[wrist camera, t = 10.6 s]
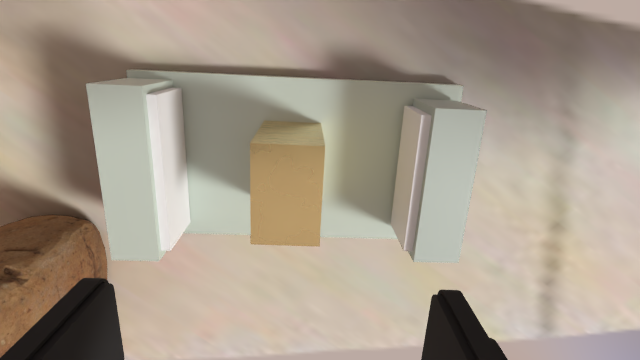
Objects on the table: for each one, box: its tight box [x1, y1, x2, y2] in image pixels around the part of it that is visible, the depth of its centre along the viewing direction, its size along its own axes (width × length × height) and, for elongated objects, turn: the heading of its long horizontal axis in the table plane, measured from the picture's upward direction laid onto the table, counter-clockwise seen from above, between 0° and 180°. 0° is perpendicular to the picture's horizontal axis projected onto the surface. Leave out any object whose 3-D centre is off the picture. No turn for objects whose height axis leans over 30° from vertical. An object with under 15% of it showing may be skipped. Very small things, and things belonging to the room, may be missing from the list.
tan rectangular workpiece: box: [250, 120, 325, 246], centre depth 24 cm, size 4×6×7 cm, turn 177°
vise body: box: [86, 69, 464, 261], centre depth 26 cm, size 23×12×6 cm, turn 87°
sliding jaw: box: [391, 99, 487, 263], centre depth 26 cm, size 4×10×5 cm, turn 177°
